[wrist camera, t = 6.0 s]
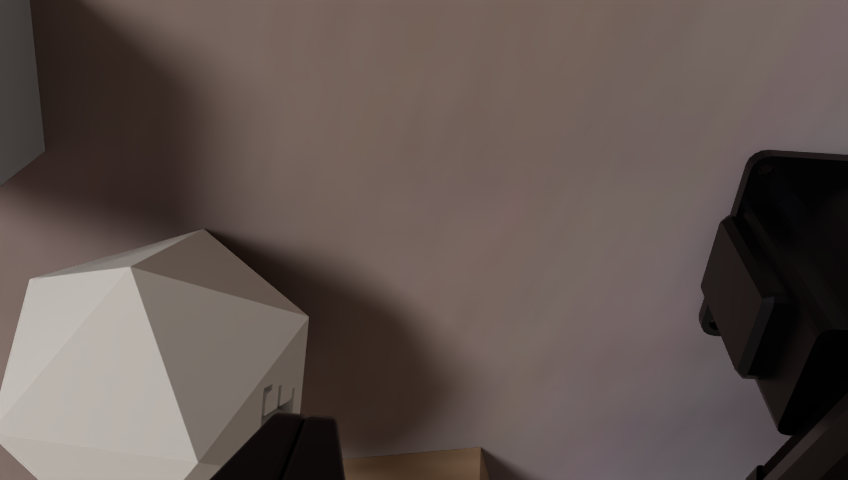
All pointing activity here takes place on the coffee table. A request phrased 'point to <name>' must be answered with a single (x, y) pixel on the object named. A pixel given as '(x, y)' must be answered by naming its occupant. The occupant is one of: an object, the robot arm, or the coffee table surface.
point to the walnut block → (420, 466)
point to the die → (149, 364)
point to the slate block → (18, 90)
